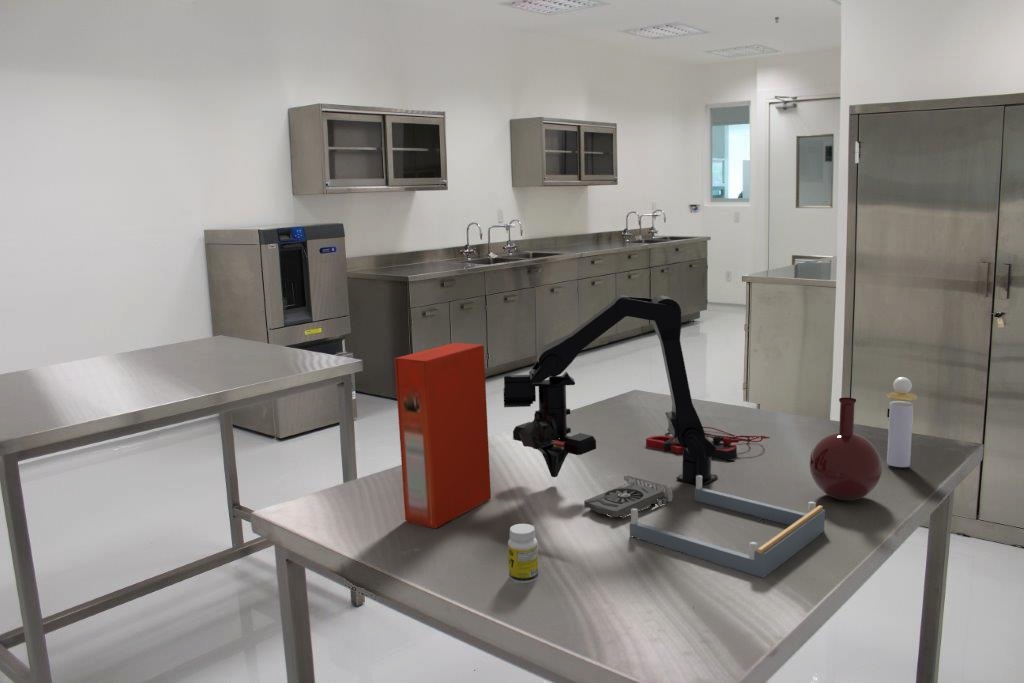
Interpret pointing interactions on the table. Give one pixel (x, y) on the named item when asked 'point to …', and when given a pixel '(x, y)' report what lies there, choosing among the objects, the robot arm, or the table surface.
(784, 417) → the table surface
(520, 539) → the supplement bottle
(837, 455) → the round-bottom flask
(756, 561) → the frame
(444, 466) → the file binder
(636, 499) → the graphics card
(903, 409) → the perfume bottle
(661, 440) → the digital clamp meter
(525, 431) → the robot arm
